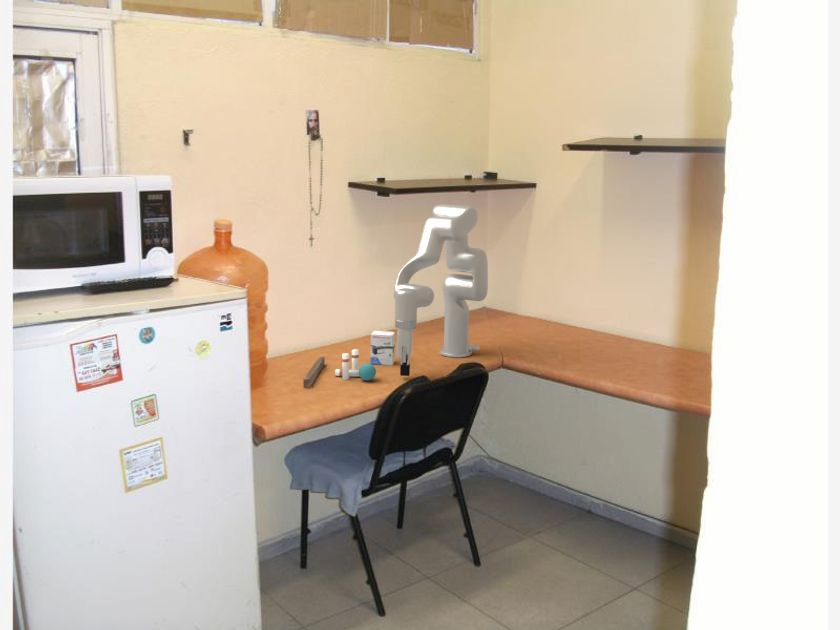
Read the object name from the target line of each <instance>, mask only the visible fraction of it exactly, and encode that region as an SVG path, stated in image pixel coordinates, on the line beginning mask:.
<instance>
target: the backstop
mask: <svg viewBox="0 0 840 630" xmlns="http://www.w3.org/2000/svg"><path fill="white" fill-rule="evenodd" d="M325 360H326V359H325V356H318V358H317V359H316V361H314V363H313V365H312V366H311V367H310V369H309V370H308V372H307V374H306V375H305V376H304V378H302V379H303V381H302V382H303V389H306V388H307V389H309V388H311V386H312V384H313V383H314V382H315V380H316V379H317V377H318V376H319V374H320V373H321V371H322V369H323V368H324V366H325V363H326V361H325ZM317 375H318V376H317Z"/></svg>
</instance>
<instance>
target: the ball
mask: <svg viewBox="0 0 840 630" xmlns="http://www.w3.org/2000/svg"><path fill="white" fill-rule="evenodd" d="M359 376H360V377H359V378H361V379H362V380H363V381H366V382H370V381H372V380H374V378H375V377H376V376H377V369H376V367H375V366H374V364H371V363H364V364H361V366H360V367H359Z"/></svg>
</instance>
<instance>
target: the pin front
mask: <svg viewBox="0 0 840 630" xmlns="http://www.w3.org/2000/svg"><path fill="white" fill-rule="evenodd" d="M334 371H335V372H334V376H335V377H342V368H340V369H339V368H336V369H335V370H334ZM350 377H351V378H354V377H355V378H361V377H360V376H359V370H352V369H349V378H350Z"/></svg>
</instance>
